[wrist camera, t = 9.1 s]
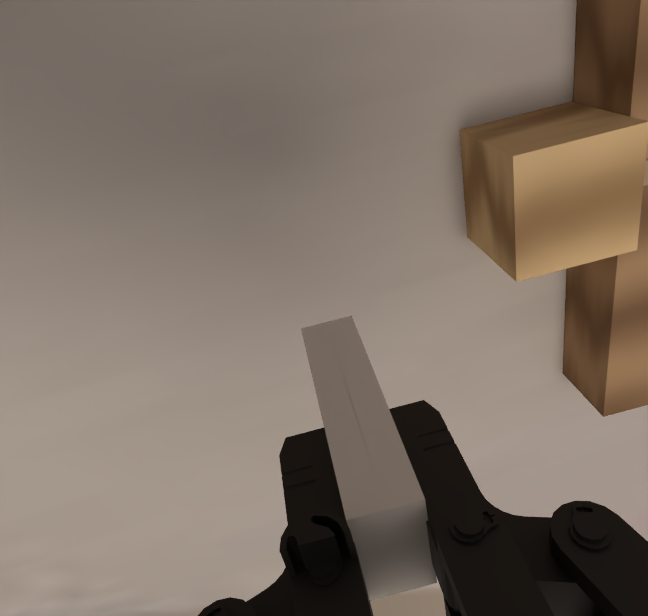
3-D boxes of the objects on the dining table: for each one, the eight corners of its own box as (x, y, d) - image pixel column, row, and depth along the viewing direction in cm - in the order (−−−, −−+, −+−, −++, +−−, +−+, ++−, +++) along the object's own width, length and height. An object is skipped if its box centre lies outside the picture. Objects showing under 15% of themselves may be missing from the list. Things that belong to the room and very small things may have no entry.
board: (579, -93, 23) (652, -116, 19) (646, -108, 24) (733, -133, 20) (562, 373, 36) (603, 418, 32) (605, 362, 37) (652, 405, 32)
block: (458, 129, 27) (513, 156, 22) (570, 101, 28) (649, 121, 22) (466, 236, 30) (516, 281, 25) (567, 210, 31) (637, 250, 25)
